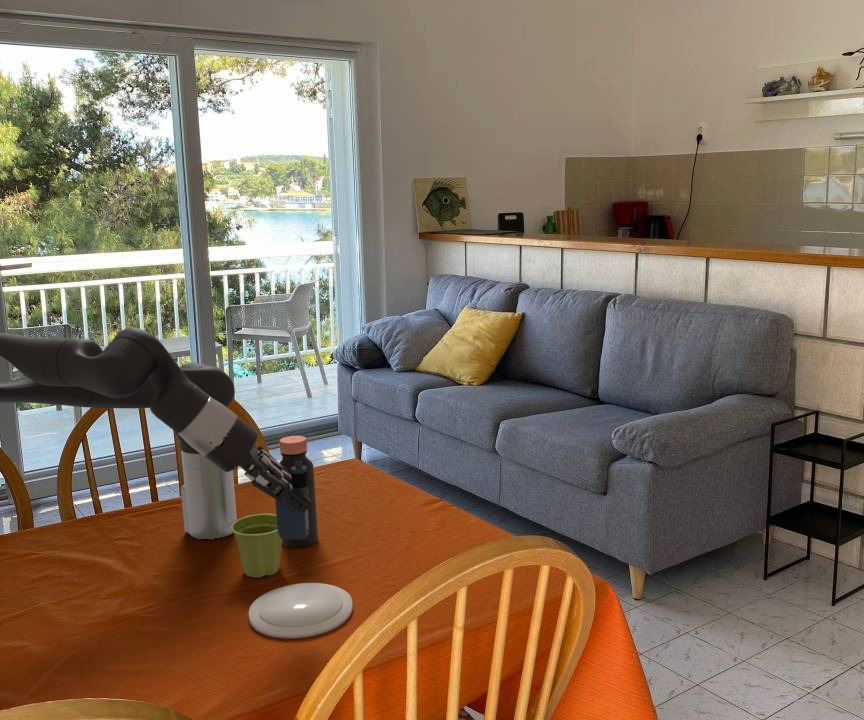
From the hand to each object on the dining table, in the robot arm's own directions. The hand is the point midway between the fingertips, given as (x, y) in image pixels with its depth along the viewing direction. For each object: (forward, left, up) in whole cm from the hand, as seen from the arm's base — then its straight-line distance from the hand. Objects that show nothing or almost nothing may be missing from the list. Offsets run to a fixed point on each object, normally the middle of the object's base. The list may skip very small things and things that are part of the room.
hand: (305, 502), depth 131 cm
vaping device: (-2, -1, -5) cm, 6 cm away
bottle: (-17, +22, -18) cm, 33 cm away
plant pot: (-16, +9, -18) cm, 26 cm away
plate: (-1, -1, -18) cm, 18 cm away
